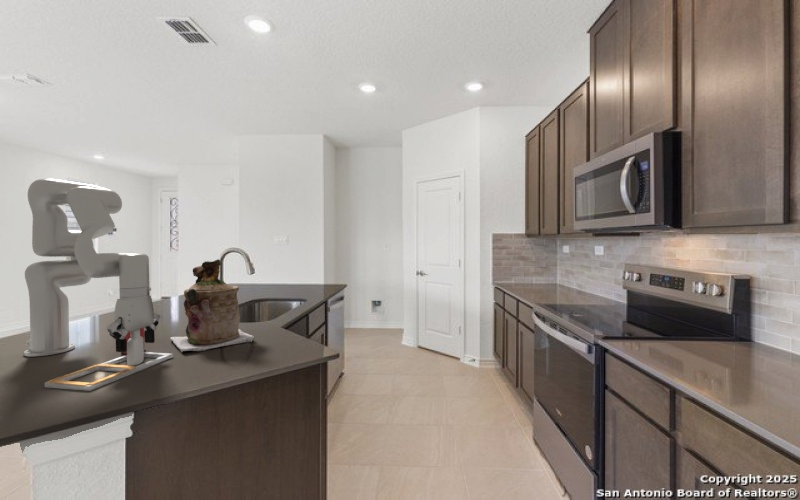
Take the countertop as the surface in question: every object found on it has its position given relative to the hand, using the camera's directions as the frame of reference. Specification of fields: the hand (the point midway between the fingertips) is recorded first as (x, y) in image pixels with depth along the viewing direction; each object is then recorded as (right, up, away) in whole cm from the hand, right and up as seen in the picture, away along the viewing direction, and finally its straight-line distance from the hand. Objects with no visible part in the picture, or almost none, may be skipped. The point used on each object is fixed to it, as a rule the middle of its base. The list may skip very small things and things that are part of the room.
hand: (136, 346), depth 109 cm
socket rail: (-1, -5, -6) cm, 8 cm away
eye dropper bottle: (0, -5, 0) cm, 5 cm away
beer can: (-11, -5, +12) cm, 17 cm away
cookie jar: (+10, -5, +25) cm, 28 cm away
